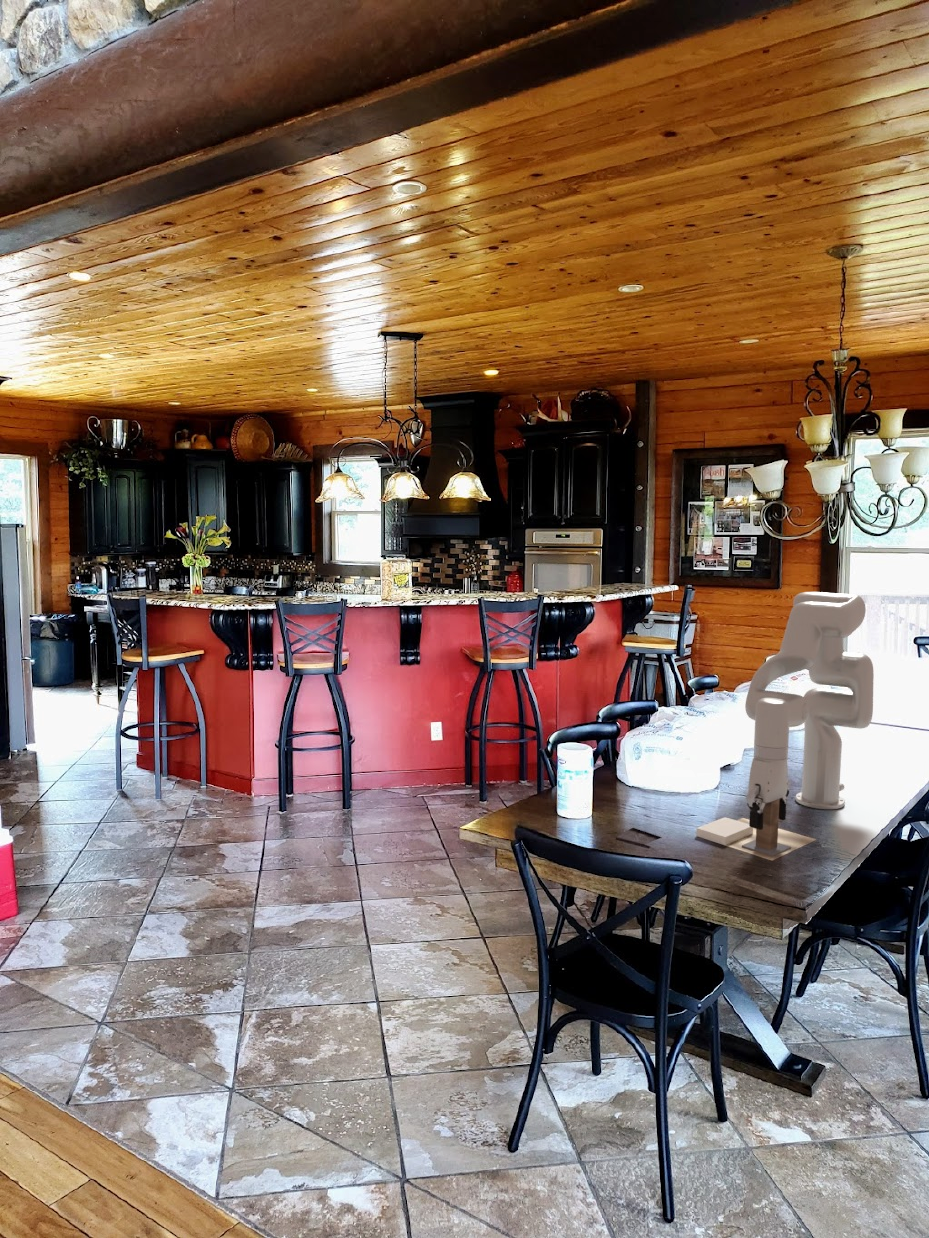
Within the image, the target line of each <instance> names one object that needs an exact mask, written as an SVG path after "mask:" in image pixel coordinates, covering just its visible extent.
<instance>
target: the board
mask: <svg viewBox="0 0 929 1238" xmlns="http://www.w3.org/2000/svg"><path fill="white" fill-rule="evenodd" d="M735 820H736V819H735ZM736 821H740V822H743V823H746V824H749V821H750V819H748V818H744V817H741V818H738V819H737V820H736ZM755 839H756V828H753V834H751V835H749V836H746V837H744V838H742V839H739V840H737V841H734V842H732V843H730V844H727V845H724V846H726V847H729V848H731V849H735V850H737V851H741V852H743V853H747V854H750V855H753V856H757V857H759V858H762V859H765V860H768V861H775V860H777V859H779V858H781V857H783V856H785V855H787V854H789V853H791V852H792V853H793V852H794V851H795V850H797V849H801V848H802V847H804V846H806V845H809V844H811V843H812V842H814V841H817V839H816V838H813V837H810V836H806V835H802V834H799V833H796V832H792V831H789V830H786V829H783V828H779V827H778V841H777V843H780V844H784V845H787V846H790V847H791V849H789V850H787V851H785V852H782V853H780V854H778V855H776V856H774V857H771V856H768V855H765V854H762V853H759V852H756V851H752V850H749V849H746V848H743V847H742V845H744V844H746V843H749V842H751V841H753V840H755Z"/></svg>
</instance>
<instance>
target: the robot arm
mask: <svg viewBox="0 0 929 1238" xmlns="http://www.w3.org/2000/svg"><path fill="white" fill-rule="evenodd" d="M792 605H793V607H792V608H791V610H790V613H789V616H788V619H787V623H786V626H785V627H786V628H785V631H784V635H783V638H782V642H781V645H780V648H779V649H780V650H779V652H778V653H776V654H775V655H773V656H772V657H770V658H769V659H767V660H765V662H764V663H763V664H762V665H761V666H759V668H758V669H757V670H756V671H755V672H754V675H753V676H752V678H751V680H750V684H749V688H748V691H747V695H746V699H745V714H746V715H747V717H748V718H749V719H751V720H753V721H754V736H753V737H754V738H753V741H754V742H753V758H752V761H751V765H750V771H749V777H748V778H749V779H748V788H747V794H746V797H745V798H746V802H747V807H748V811H749V820H750V821H749V826H750V827H752V828H756V829H759V830H762V829H763V818H764V813H762V810H763V808H764V806H765V803H770V802H772V801H775V800H777V799H780V800H779V820H780V821H785V820H786V816H787V813H786V812H787V803H788V800H789V799H788V796H789V794H790V788H791V786H792V785H791V784H792V782H791V781H790V780H789V767H788V760H789V745H790V744H789V741H790V728H792V727H798V726H799V727H800V726H801V725H803V724H804V740H803V741H804V742H803V760H802V761H803V762H802V776H801V777H802V780H801V791H800V792H798V793H796V794H795V801H796V802H797V803H798V804H800V805H803V806H804V807H808V808H813V809H817V810H838V809H841V808H843V807H844V806H845V803H846V802H845V799H844V798H842V797H841V796H840V792H841V791H844V790H845V785H844V784H843V783H841V768H842V767H841V766H842V749H843V747H842V745H843V742H842V738H841V735H840V733H839V732H838V730H837V729H836V727H844V728H852V729H859V730H860V729H861V730H862V729H865V728H868V727H869V726H870V725H871V723H872V719H873V714H874V713H873V712H874V711H873V710H874V664H873V661H872V659H871V658H870V657H869V656H868V655H867V654H864V653H859V652H850V651H845V650H844V639H845V638H848V637H849V636H851V635H852V634H853V633H854V632H855V631H856V630H857V629H858V628H859V627H860V626H861V625H862V623H863V622H864V620H865V617H866V611H867V610H866V604H865V601H864V599H863V598H862V596H860V595H857V594H851V593H835V592H823V591H821V592H820V591H804V592H800V593H798V594H796V595H795V596H794V598H793V603H792ZM807 669H808V675H809V679H810V681H811V682H812V683H814V684H816V685H820V686H827V687H833V688H842V689H850V690H851V691H847V690H840V689H833V688H824V687H823V688H820V687H816V688H811V689H809V690H808V691H806V692H805V694H804V695H803V696H802V695H801V694H795V693H789V692H788V693H787V692H782V691H781V692H780V691H773V690H766V689H767V687H768V686H769V685H770V684H771V683H772V682H773V681H775V680H777V679H779V678H781V677H783V676H786V675H787V676H788V675H790V674H794V673H797V672H801V671H803V670H807ZM758 797H759V798H762V799H759V798H758ZM758 803H760V805H759V806H758V805H757V804H758Z"/></svg>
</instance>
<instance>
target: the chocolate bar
mask: <svg viewBox="0 0 929 1238" xmlns="http://www.w3.org/2000/svg"><path fill="white" fill-rule="evenodd" d="M662 838H663V837H662V836H659V835H656V834H653V833H650V832H648V831H645V830H641V829H638V828H636V827H632V828H629V829H628V830H626V831H625V832H623V833H621V834H619V835H617V836H615V840H617V841H621V842H622V841H623V842H625V843H629V844H634V845H636V846H640V845H641V847H644V846H645V848H648V849H650V848H651V846H649V845H646V844H648V843H651V842H654V841H657V840H659V839H662ZM649 847H650V848H649Z"/></svg>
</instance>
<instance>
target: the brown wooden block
mask: <svg viewBox="0 0 929 1238" xmlns="http://www.w3.org/2000/svg"><path fill="white" fill-rule="evenodd" d="M758 798H759V797H758ZM759 799H762V798H759ZM779 800H780V799H777V800H775V801H772V802H770V803H765V806H764V808H763V810H762V813H764V818H763V829H762V830H759V829H756V846H758V847H761V848H765V849H768V850H770V849H772V848H775V847H777V841H778V828H779V822H780V821H779V820H780V819H779ZM757 805H758V806H759V805H760V803H758V802H757Z"/></svg>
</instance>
